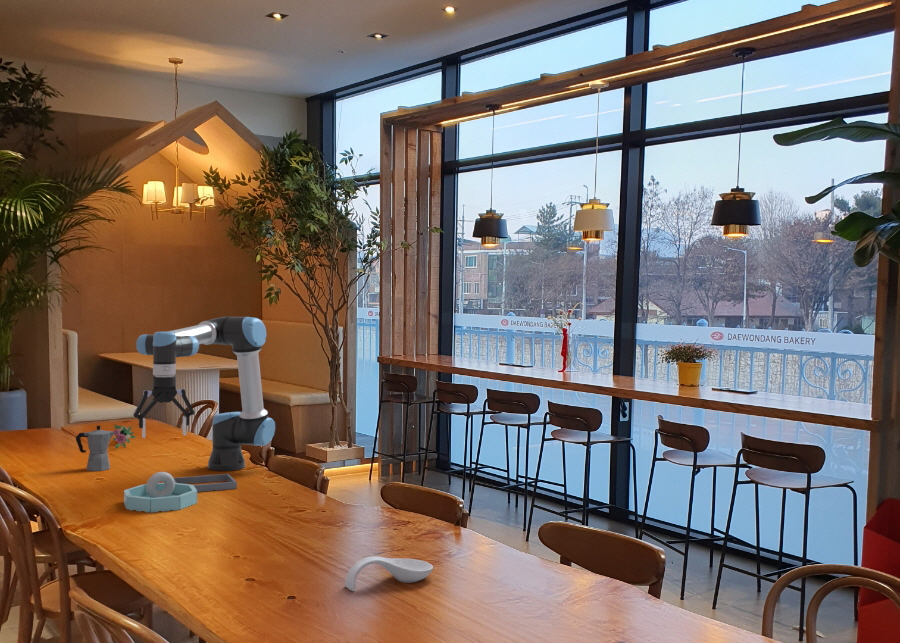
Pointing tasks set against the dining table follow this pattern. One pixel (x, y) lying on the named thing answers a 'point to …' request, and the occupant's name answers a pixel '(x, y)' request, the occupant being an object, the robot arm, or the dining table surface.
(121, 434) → the flower vase
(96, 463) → the coffeepot
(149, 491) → the donut
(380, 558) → the spoon rest
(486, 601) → the dining table surface
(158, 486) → the bowl
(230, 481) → the grey rectangular frame
